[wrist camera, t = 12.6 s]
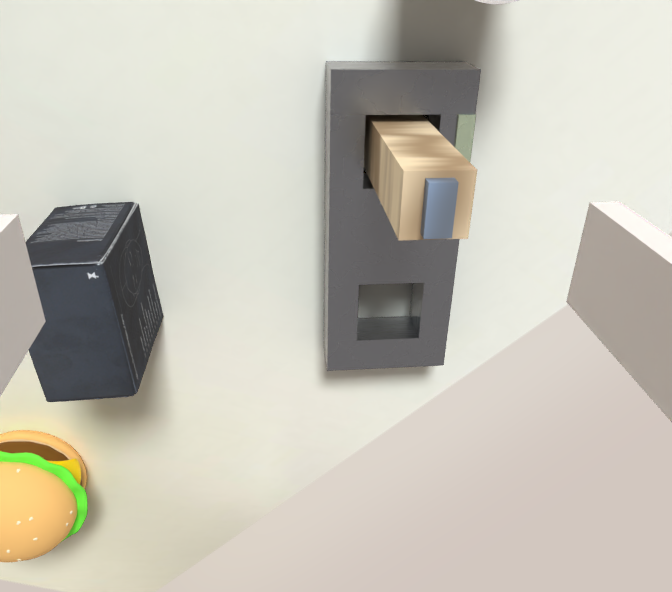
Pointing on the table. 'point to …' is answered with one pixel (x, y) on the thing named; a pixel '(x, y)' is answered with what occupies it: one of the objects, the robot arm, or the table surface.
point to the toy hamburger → (38, 494)
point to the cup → (496, 1)
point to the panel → (371, 220)
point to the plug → (419, 177)
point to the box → (93, 301)
